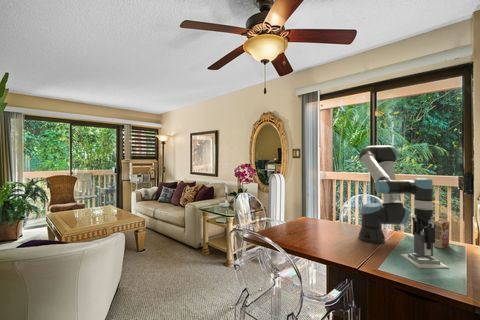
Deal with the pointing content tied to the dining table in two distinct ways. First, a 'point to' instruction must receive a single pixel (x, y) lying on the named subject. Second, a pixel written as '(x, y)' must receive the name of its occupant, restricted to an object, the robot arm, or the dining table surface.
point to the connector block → (420, 244)
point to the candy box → (441, 234)
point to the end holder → (423, 261)
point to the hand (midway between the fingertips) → (423, 252)
